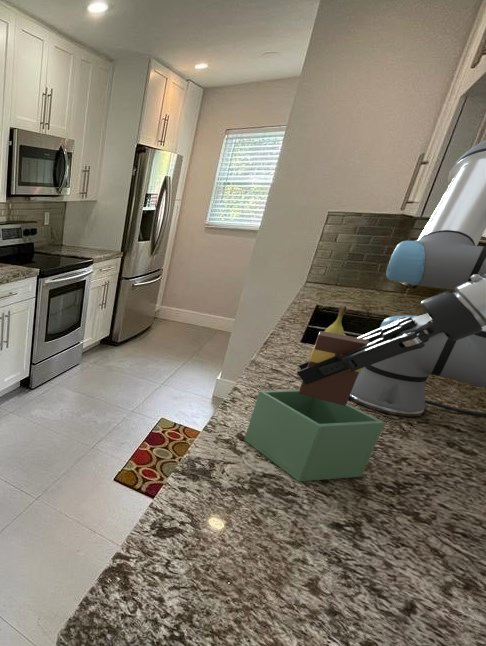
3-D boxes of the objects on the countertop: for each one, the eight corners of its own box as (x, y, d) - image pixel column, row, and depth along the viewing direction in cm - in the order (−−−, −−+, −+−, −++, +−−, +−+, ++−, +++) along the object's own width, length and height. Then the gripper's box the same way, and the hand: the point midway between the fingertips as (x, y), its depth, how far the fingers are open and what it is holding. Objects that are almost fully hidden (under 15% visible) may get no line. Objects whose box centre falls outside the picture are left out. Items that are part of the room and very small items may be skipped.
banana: (326, 350, 144) (346, 294, 137) (347, 355, 140) (369, 298, 133) (309, 364, 131) (330, 304, 124) (331, 370, 127) (355, 308, 119)
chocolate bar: (299, 387, 81) (319, 330, 77) (345, 399, 77) (369, 339, 73) (298, 393, 79) (318, 334, 74) (345, 406, 75) (370, 344, 70)
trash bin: (299, 436, 90) (316, 388, 86) (361, 476, 78) (385, 422, 73) (244, 439, 88) (259, 390, 84) (298, 481, 76) (319, 426, 71)
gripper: (441, 281, 70) (293, 347, 86) (462, 297, 58) (285, 370, 74) (472, 318, 69) (316, 378, 84) (500, 342, 57) (312, 406, 72)
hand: (302, 374), depth 79 cm, fingers closed on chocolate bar, 4 cm apart
